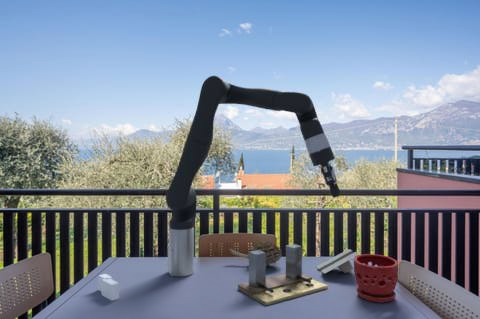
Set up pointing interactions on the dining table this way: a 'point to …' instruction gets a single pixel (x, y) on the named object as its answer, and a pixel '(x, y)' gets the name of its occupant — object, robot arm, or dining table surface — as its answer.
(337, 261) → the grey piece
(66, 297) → the dining table surface
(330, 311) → the dining table surface
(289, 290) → the bolt plate
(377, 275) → the plant pot
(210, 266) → the dining table surface
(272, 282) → the base
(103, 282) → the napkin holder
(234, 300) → the dining table surface
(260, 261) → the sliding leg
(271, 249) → the pine cone
